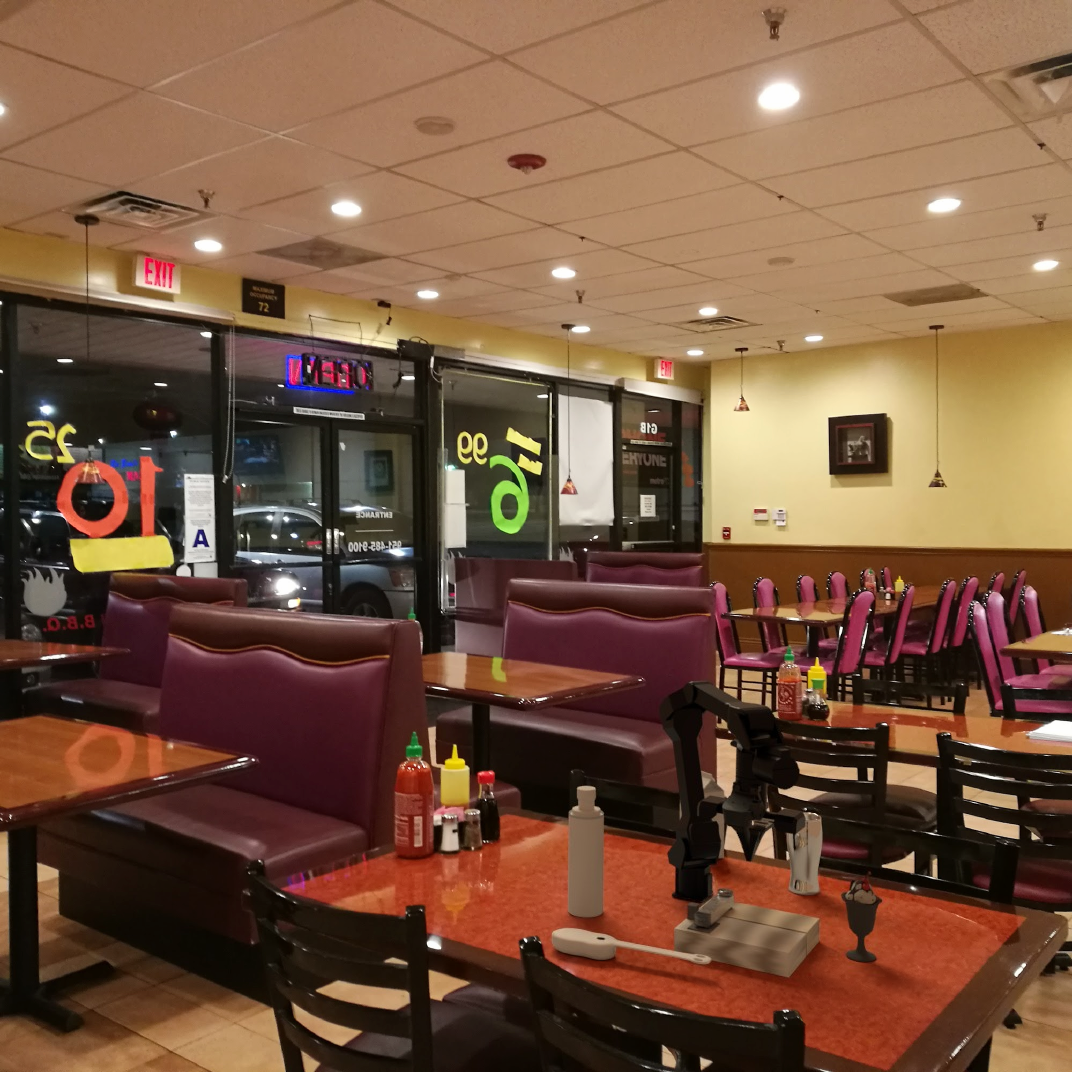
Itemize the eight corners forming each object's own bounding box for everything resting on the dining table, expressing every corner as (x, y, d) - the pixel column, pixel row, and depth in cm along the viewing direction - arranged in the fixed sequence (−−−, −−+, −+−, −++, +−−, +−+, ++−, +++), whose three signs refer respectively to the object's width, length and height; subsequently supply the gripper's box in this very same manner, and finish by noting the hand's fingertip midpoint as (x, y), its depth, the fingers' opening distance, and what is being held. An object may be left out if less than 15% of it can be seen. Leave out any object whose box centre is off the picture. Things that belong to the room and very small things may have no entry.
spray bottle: (610, 911, 198) (611, 779, 198) (587, 920, 194) (588, 785, 194) (583, 902, 203) (584, 774, 203) (560, 911, 198) (561, 779, 198)
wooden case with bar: (674, 951, 179) (674, 913, 179) (712, 919, 195) (712, 884, 195) (788, 977, 169) (788, 937, 169) (819, 941, 185) (819, 904, 185)
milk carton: (698, 863, 228) (698, 776, 228) (679, 854, 235) (679, 769, 235) (724, 858, 232) (724, 773, 232) (704, 849, 238) (705, 766, 238)
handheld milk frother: (715, 971, 172) (715, 953, 172) (705, 984, 167) (706, 966, 167) (559, 940, 184) (559, 924, 184) (546, 952, 178) (546, 935, 178)
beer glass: (818, 885, 214) (819, 812, 214) (824, 896, 207) (825, 821, 207) (784, 883, 215) (784, 811, 215) (788, 895, 208) (789, 820, 208)
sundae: (876, 967, 173) (877, 877, 173) (836, 958, 177) (836, 870, 177) (886, 954, 179) (886, 866, 179) (846, 945, 182) (847, 860, 182)
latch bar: (720, 901, 191) (720, 887, 191) (735, 904, 190) (735, 890, 190) (693, 925, 180) (693, 909, 180) (708, 928, 178) (709, 912, 178)
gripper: (685, 776, 187) (683, 863, 188) (787, 793, 177) (784, 884, 178) (710, 764, 197) (708, 846, 197) (807, 780, 187) (805, 866, 187)
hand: (749, 860), depth 190 cm, fingers closed
